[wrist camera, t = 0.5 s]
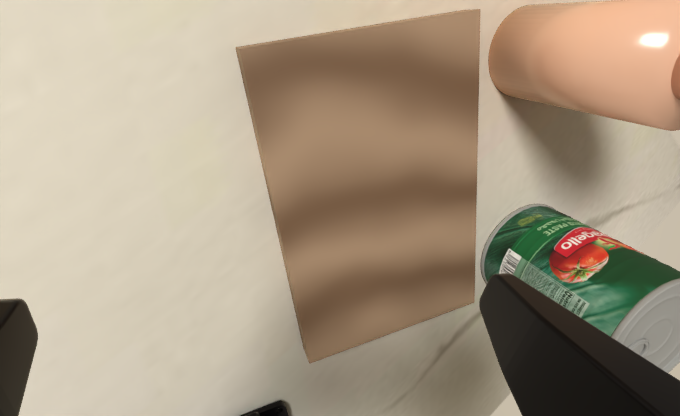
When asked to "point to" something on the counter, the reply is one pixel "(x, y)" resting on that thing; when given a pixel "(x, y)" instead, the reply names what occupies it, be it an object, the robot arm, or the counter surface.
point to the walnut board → (371, 171)
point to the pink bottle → (594, 58)
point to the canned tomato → (591, 279)
